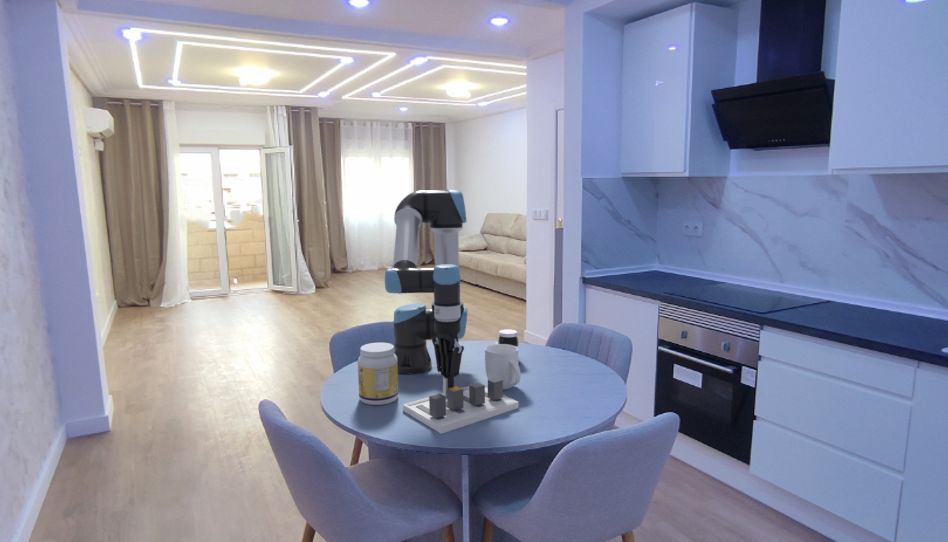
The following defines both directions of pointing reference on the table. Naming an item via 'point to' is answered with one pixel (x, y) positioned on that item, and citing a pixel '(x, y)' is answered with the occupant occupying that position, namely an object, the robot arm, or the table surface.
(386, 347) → the supplement tub
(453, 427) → the panel
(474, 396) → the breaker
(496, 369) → the mug
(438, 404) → the breaker
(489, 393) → the breaker
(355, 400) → the table surface
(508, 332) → the spread jar
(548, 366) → the table surface
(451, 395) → the breaker
